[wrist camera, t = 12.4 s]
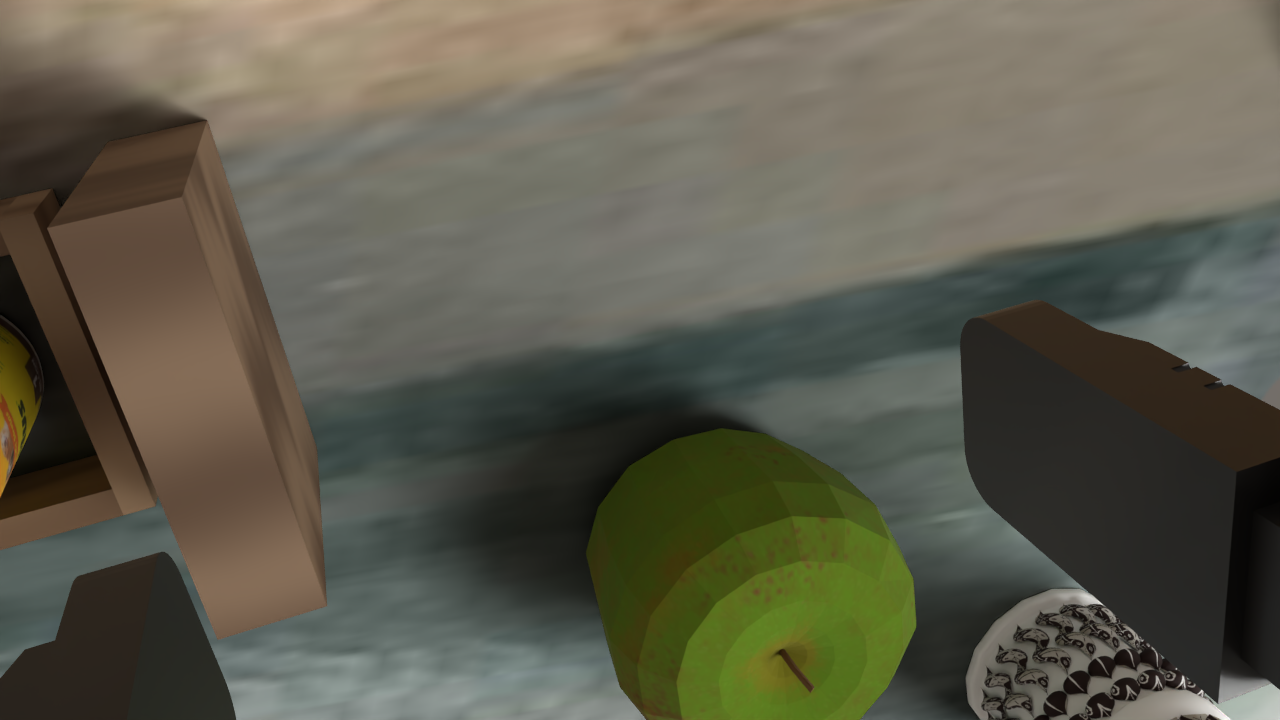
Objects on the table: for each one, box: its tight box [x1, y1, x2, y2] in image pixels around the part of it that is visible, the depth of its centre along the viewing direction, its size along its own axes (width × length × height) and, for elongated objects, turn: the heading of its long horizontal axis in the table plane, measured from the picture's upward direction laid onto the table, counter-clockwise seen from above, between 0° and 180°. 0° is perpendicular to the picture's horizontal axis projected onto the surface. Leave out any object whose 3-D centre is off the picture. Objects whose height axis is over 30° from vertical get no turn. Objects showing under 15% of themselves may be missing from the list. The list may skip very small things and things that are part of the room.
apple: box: [586, 428, 917, 720], centre depth 41 cm, size 11×11×11 cm
